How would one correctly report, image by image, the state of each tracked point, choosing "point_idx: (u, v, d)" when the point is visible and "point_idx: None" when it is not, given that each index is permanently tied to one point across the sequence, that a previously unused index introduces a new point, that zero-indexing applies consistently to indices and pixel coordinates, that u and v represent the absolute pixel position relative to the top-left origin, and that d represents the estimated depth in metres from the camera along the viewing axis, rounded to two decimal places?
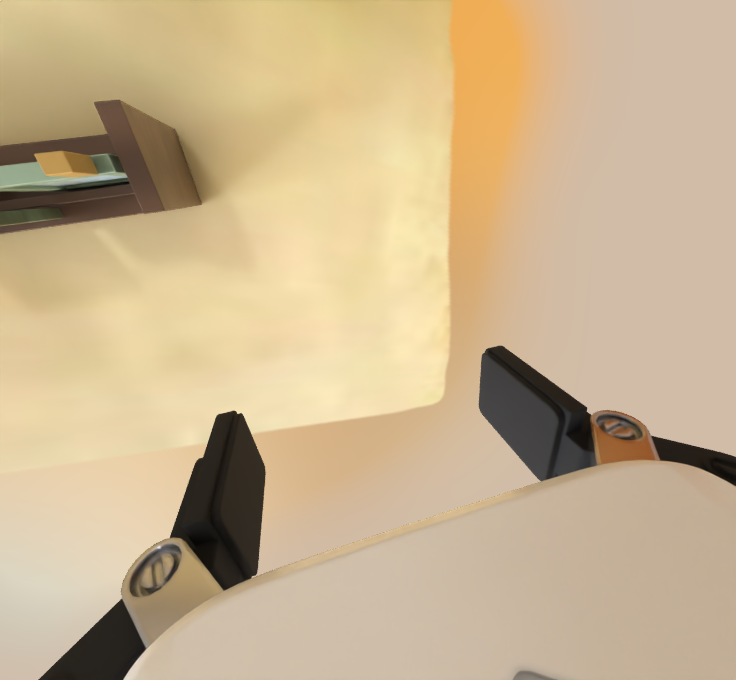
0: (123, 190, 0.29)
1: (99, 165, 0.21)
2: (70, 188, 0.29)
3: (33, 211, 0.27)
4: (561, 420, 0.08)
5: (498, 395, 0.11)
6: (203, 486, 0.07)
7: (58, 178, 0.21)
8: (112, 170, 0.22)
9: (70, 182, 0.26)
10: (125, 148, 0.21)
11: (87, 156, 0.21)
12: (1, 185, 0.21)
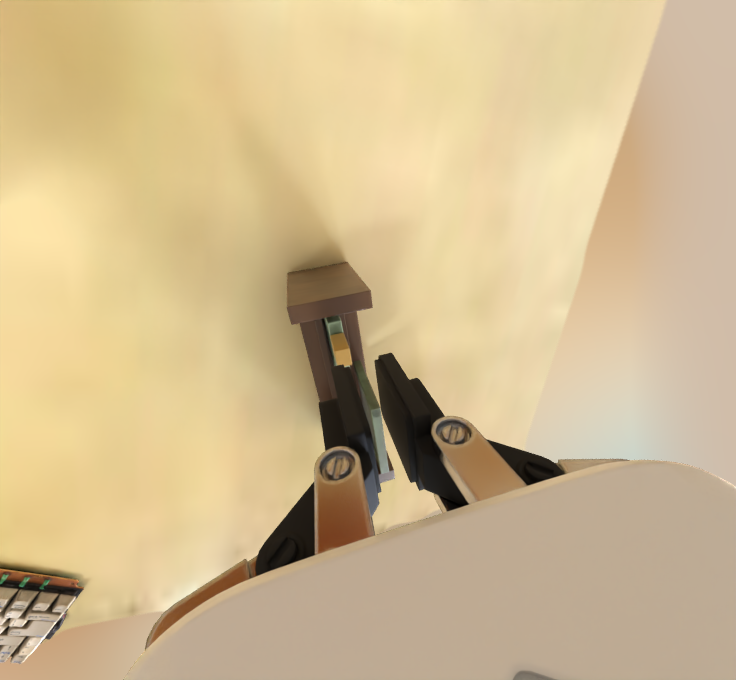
0: (341, 319, 0.34)
1: (336, 330, 0.26)
2: None
3: (359, 375, 0.36)
4: (409, 425, 0.09)
5: (385, 400, 0.11)
6: (349, 412, 0.09)
7: None
8: (339, 322, 0.26)
9: None
10: (322, 310, 0.25)
11: (331, 337, 0.26)
12: None
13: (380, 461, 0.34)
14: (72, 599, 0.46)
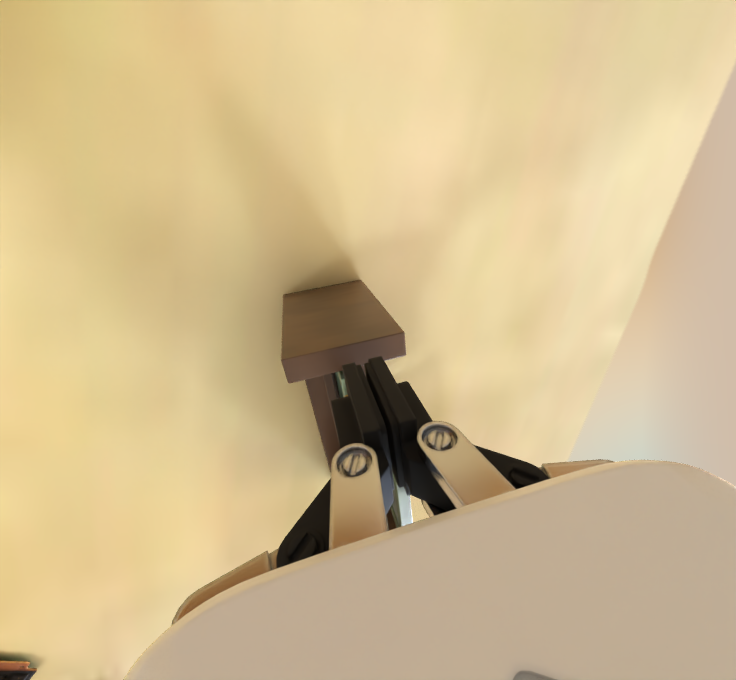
0: None
1: None
2: None
3: None
4: (396, 430, 0.09)
5: None
6: (364, 409, 0.09)
7: None
8: None
9: None
10: (334, 362, 0.17)
11: None
12: None
13: None
14: None
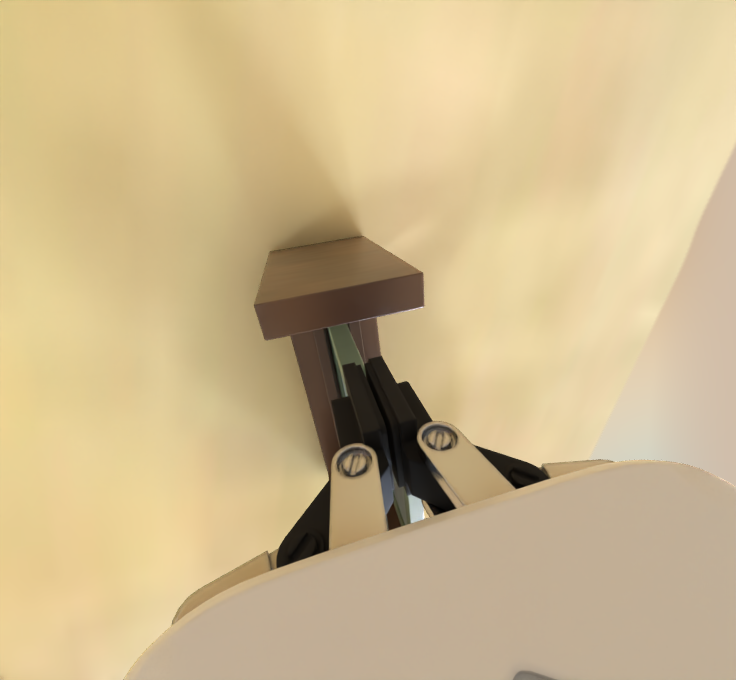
0: (355, 326, 0.22)
1: None
2: None
3: None
4: (396, 430, 0.09)
5: None
6: (364, 409, 0.09)
7: None
8: None
9: None
10: (328, 311, 0.12)
11: None
12: None
13: None
14: None
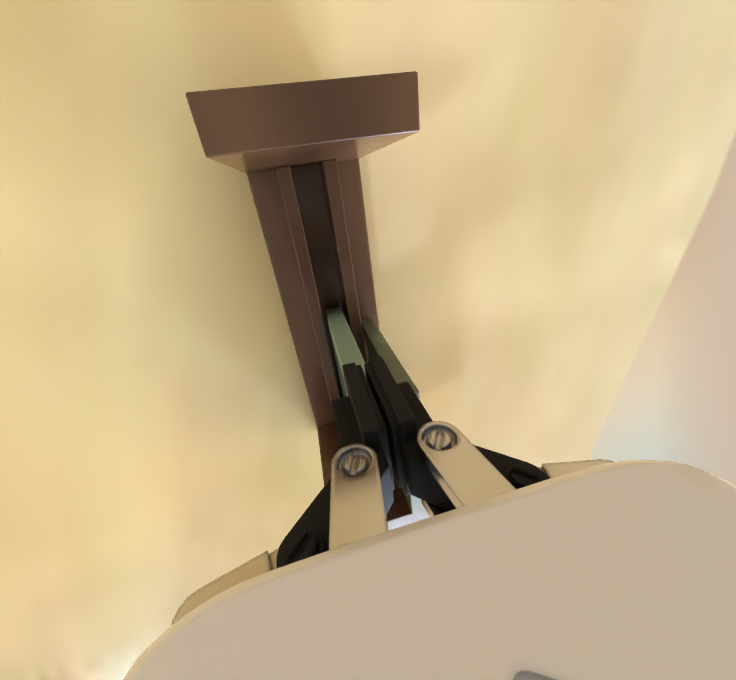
0: (341, 232, 0.19)
1: None
2: None
3: (372, 339, 0.21)
4: (396, 430, 0.09)
5: None
6: (364, 409, 0.09)
7: None
8: None
9: None
10: (290, 119, 0.09)
11: None
12: None
13: None
14: None
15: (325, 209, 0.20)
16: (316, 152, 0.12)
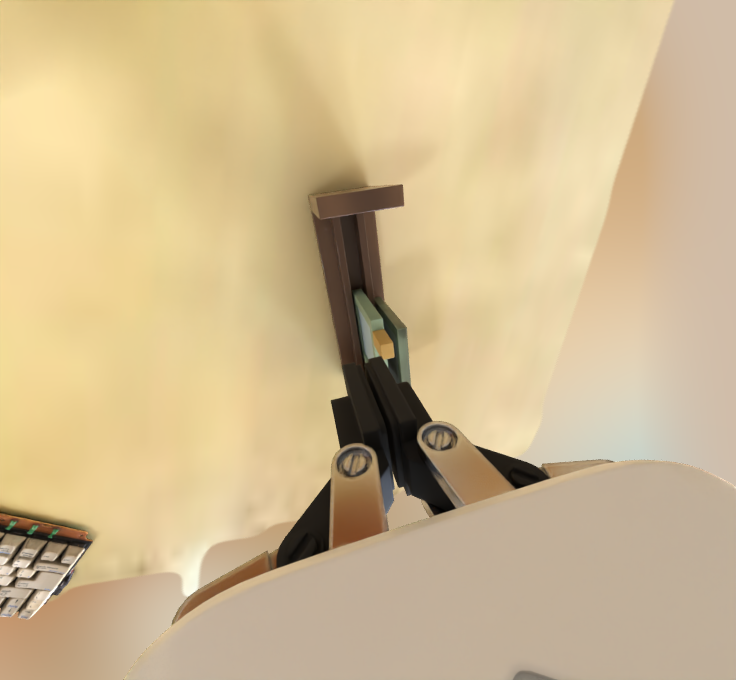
0: (364, 244, 0.33)
1: (378, 327, 0.29)
2: None
3: (381, 306, 0.35)
4: (396, 430, 0.09)
5: None
6: (364, 409, 0.09)
7: None
8: (381, 320, 0.29)
9: None
10: (352, 204, 0.24)
11: (374, 332, 0.28)
12: None
13: None
14: (81, 551, 0.45)
15: (354, 230, 0.34)
16: None
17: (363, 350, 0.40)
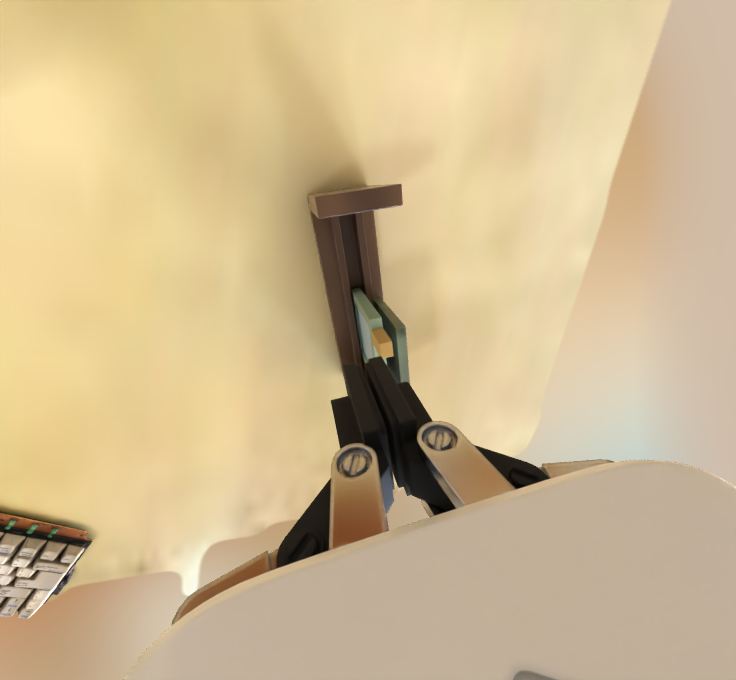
0: (363, 243, 0.33)
1: (377, 326, 0.29)
2: None
3: (380, 305, 0.35)
4: (396, 430, 0.09)
5: None
6: (364, 409, 0.09)
7: None
8: (380, 319, 0.29)
9: None
10: (351, 203, 0.24)
11: (373, 331, 0.29)
12: None
13: None
14: (81, 550, 0.45)
15: (352, 229, 0.35)
16: None
17: (362, 349, 0.40)
